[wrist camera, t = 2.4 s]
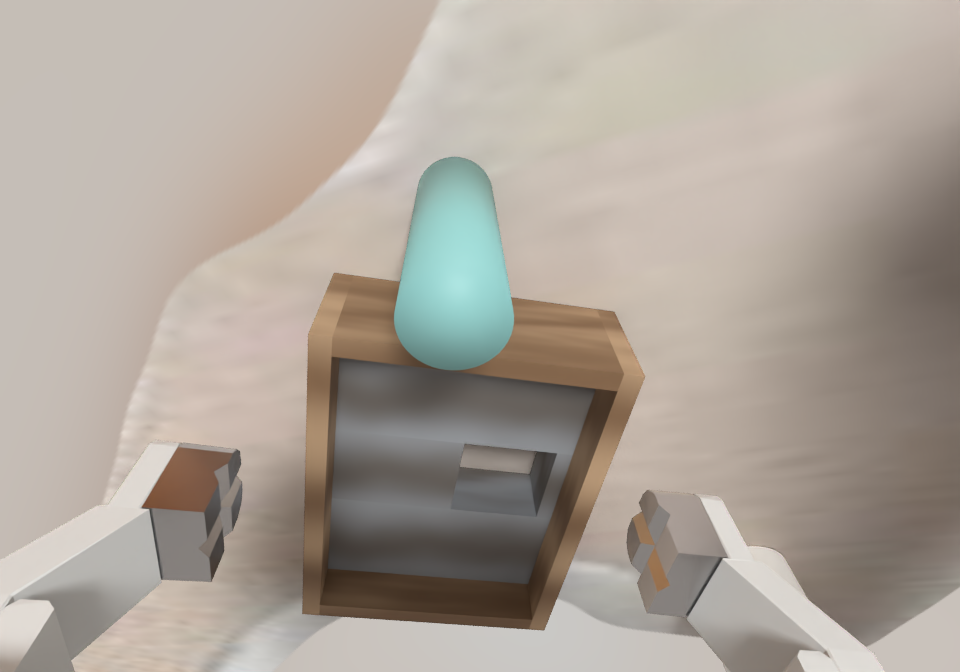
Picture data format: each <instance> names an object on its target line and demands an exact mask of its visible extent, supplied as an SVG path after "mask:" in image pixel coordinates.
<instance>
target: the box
mask: <svg viewBox="0 0 960 672" xmlns="http://www.w3.org/2000/svg"><path fill="white" fill-rule="evenodd" d="M399 285H400V282H396V281H389V280H382V279H375V278H367V277H360V276H353V275H346V274H339V273H334V274H333V277H332V279H331V281H330V284H329V286H328V289H327V291H326V293H325V296H324V298H323V300H322V303H321V305H320V307H319V310H318V312H317V315H316V317H315V319H314V322H313V324H312V326H311V329H310V331H309V334H308V371H307V419H306V467H305V514H304V562H303V610H302V614H311V615H326V616H341V617H355V618H370V619H385V620H400V621H415V622H429V623H444V624H458V625H473V626H488V627H504V628H517V629H532V630H545V627H546V624H547V622H548V620H549V617H550V615H551V612H552V609H553V607H554V604H555V602H556V599H557V597H558V594H559V592H560V589H561V587H562V584H563V582H564V579H565V577H566V574H567V572H568V569H569V567H570V564H571V562H572V559H573V557H574V554H575V552H576V549H577V547H578V544H579V542H580V539H581V537H582V534H583V532H584V529H585V527H586V524H587V522H588V519H589V517H590V514H591V512H592V509H593V507H594V504H595V502H596V499H597V497H598V494H599V491H600V489H601V486H602V484H603V481H604V479H605V476H606V474H607V471H608V469H609V466H610V464H611V461H612V459H613V456H614V454H615V451H616V449H617V446H618V444H619V441H620V439H621V436H622V434H623V431H624V429H625V426H626V424H627V421H628V419H629V416H630V414H631V411H632V409H633V406H634V404H635V401H636V399H637V396H638V394H639V391H640V389H641V386H642V384H643V381H644V379H645V375H644V373H643V371H642V369H641V367H640V364H639V362H638V360H637V358H636V356H635V354H634V352H633V350H632V348H631V346H630V344H629V342H628V340H627V337H626V335H625V333H624V331H623V329H622V327H621V325H620V323H619V321H618V319H617V317H616V315H615V312H612V311H604V310H597V309H590V308H583V307H576V306H568V305H561V304H554V303H547V302H540V301H533V300H525V299H518V298H511V300H512V305H513V312H514V326H513V330H512V334H511V336H510V338H509V340H508V342H507V344H506V345H505V347H504V348H503V349H502V350H501V351H500V353H498V354H497V355H496V356H495V357H494V358H492V359H491V360H489V361H488V362H486V363H484V364H482V365H480V366H477V367H474V368H470V369H465V370H443V369H438V368H435V367H431V366H429V365H426V364H424V363H422V362H421V361H419V360H417V359H416V358H415V357H413V356H412V355H411V354H410V353H409V352H408V351H407V350H406V349H405V348H404V346H403V345H402V343H401V342H400V340H399V338H398V336H397V333H396V330H395V325H394V312H395V306H396V301H397V296H398V290H399ZM464 444H473V445H482V446H492V447H501V448H511V449H520V450H529V451H537V453H536V456H535V459H534V463H533V466H532V469H531V473H530V474H520V473H510V472H500V471H491V470H481V469H471V468H461V467H460V462H461V458H462V453H463V448H464Z"/></svg>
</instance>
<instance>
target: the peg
mask: <svg viewBox="0 0 960 672" xmlns="http://www.w3.org/2000/svg"><path fill="white" fill-rule="evenodd" d="M394 325H395V330H396V333H397V336H398V338H399V340H400V342H401V343H402V345H403V346H404V348H405V349H406V350H407V351H408V352H409V353H410V354H411V355H412V356H413V357H415V358H416V359H417V360H419V361H421V362H422V363H424V364H426V365H429V366H431V367H435V368H438V369H443V370H465V369H470V368H474V367H477V366H480V365H482V364H484V363H486V362H488V361H489V360H491V359H492V358H494V357H495V356H496V355H497V354H498V353H500V351H501V350H502V349H503V348H504V347H505V345H506V344H507V342H508V340H509V338H510V336H511V334H512V330H513V326H514V312H513V305H512V300H511V294H510V288H509V283H508V277H507V271H506V265H505V260H504V254H503V248H502V243H501V237H500V231H499V225H498V220H497V214H496V208H495V203H494V197H493V191H492V186H491V182H490V180H489V178H488V176H487V174H486V173H485V172H484V170H483V169H482V168H481V167H480V166H478V165H477V164H476V163H474V162H472V161H470V160H468V159H465V158H460V157H449V158H444V159H441V160H439V161H437V162H435V163H433V164H432V165H431V166H430V167H428V168H427V170H426V171H425V172H424V173H423V175H422V177H421V179H420V181H419V184H418V189H417V195H416V200H415V205H414V211H413V216H412V221H411V227H410V232H409V237H408V243H407V248H406V253H405V258H404V264H403V269H402V274H401V280H400V285H399V290H398V296H397V301H396V306H395V312H394Z"/></svg>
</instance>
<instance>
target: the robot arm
mask: <svg viewBox="0 0 960 672" xmlns="http://www.w3.org/2000/svg"><path fill="white" fill-rule="evenodd" d="M240 466H241V458H240V451H238V450H237V449H231V448H223V447H214V446H206V445H198V444H190V443H177V442H169V441H161V440H154V441H153V442H152V443H150V444H149V445H148V446H147V447H146V449H145V450H144V452H143V453H142V454H141V456H140V457H139V459H138V460H137V462H136V463H135V465H134V466H133V468H132V469H131V471H130V472H129V474H128V475H127V477H126V478H125V480H124V481H123V482H122V484H121V485H120V487H119V488H118V490H117V491H116V493H115V494H114V496H113V497H112V499H111V500H110V502H109V503H108V505H97V506H95V507H93V508H92V509H90V510H88V511H86V512H85V513H83V514H81V515H79V516H77V517H76V518H74V519H72V520H70V521H69V522H67V523H65V524H63V525H62V526H60V527H58V528H56V529H54V530H53V531H51V532H49V533H47V534H46V535H44V536H42V537H40V538H38V539H37V540H35V541H33V542H32V543H30V544H28V545H26V546H24V547H23V548H21V549H19V550H17V551H15V552H14V553H12V554H10V555H8V556H7V557H5V558H3V559H1V560H0V672H75V671H74V668H73V665H72V662H71V660H72V659H73V658H75V657H76V656H77V655H78V654H79V653H80V652H81V651H83V650H84V649H85V648H86V647H87V646H88V645H90V644H91V643H92V642H93V641H94V640H95V639H97V638H98V637H99V636H100V635H101V634H102V633H104V632H105V631H106V630H107V629H108V628H109V627H111V626H112V625H113V624H114V623H115V622H116V621H117V620H119V619H120V618H121V617H122V616H123V615H124V614H126V613H127V612H128V611H129V610H130V609H131V608H133V607H134V606H135V605H136V604H137V603H138V602H140V601H141V600H142V599H143V598H144V597H145V596H146V595H148V594H149V593H150V592H151V591H152V590H153V589H155V588H156V587H157V586H158V585H159V584H160V583H161V580H180V581H203V582H211V581H212V579H213V577H214V574H215V572H216V569H217V567H218V565H219V562H220V560H221V557H222V555H223V553H224V539H223V537H225V536H226V535H227V534H229V533H230V532H232V531H233V528H234V526H235V523H236V520H237V518H238V514H239V510H240V506H241V500H242V481H241V480H240V479H239V478H238V477H237V476H236V475H237V473H238V470H239V468H240ZM639 504H640V507H641V510H642V512H640V513H639V514H637V515H636V516H634V517H633V518H632V520H631V522H630V525H629V528H628V533H627V549H628V555H629V558H630V561H631V564H632V565H633V566H634V567H635V568H636V569H637V570H638V571H639V572H640V573H641V576H640V578H639V580H638V582H637V584H638V587H639V590H640V594H641V597H642V600H643V603H644V606H645V609H646V612H647V613H651V614H661V615H671V616H681V617H688V618H687V620H688V622H689V623H690V624H691V625H692V626H693V627H694V629H695V630H696V631H697V632H698V633H699V635H700V636H701V637H702V638H703V639H704V640H705V642H706V643H707V644H708V645H709V647H710V648H711V649H712V650H713V651H714V652H715V654H716V655H717V656H718V657H719V658H720V660H721V661H722V662H723V663H724V664H725V666H726V667H727V668H728V669H729V670H730V672H885V671H884V669H883V667H882V665H881V664H880V662H879V661H878V659H877V658H876V656H875V654H874V653H873V652H871V651H870V650H869V649H868V648H867V647H865V646H864V645H863V644H862V643H860V642H859V641H858V640H857V639H856V638H854V637H853V636H852V635H851V634H849V633H848V632H847V631H846V630H845V629H843V628H842V627H841V626H840V625H838V624H837V623H836V622H835V621H834V620H832V619H831V618H830V617H829V616H827V615H826V614H825V613H824V612H823V611H821V610H820V609H819V608H818V607H816V606H815V605H814V604H813V603H812V602H810V601H809V600H808V599H807V598H805V597H804V596H803V595H802V594H801V593H799V592H798V591H797V590H796V589H794V588H793V587H792V586H791V585H790V584H788V583H787V582H786V581H785V580H783V579H782V578H781V577H780V576H779V575H777V574H776V573H775V572H774V571H772V570H771V569H770V568H769V567H768V566H766V565H765V564H764V563H763V562H760V561H755V560H754V559H753V557H752V555H751V553H750V551H749V549H748V547H747V546H746V544H745V542H744V540H743V538H742V536H741V534H740V532H739V531H738V529H737V527H736V525H735V523H734V521H733V519H732V518H731V516H730V514H729V512H728V510H727V508H726V506H725V505H724V503H723V501H722V500H721V499H720V498H719V497H718V496H713V495H701V494H689V493H677V492H666V491H655V490H647V491H646V492H645V493H644V494H643V495H642V498H641V500H640V502H639Z"/></svg>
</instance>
